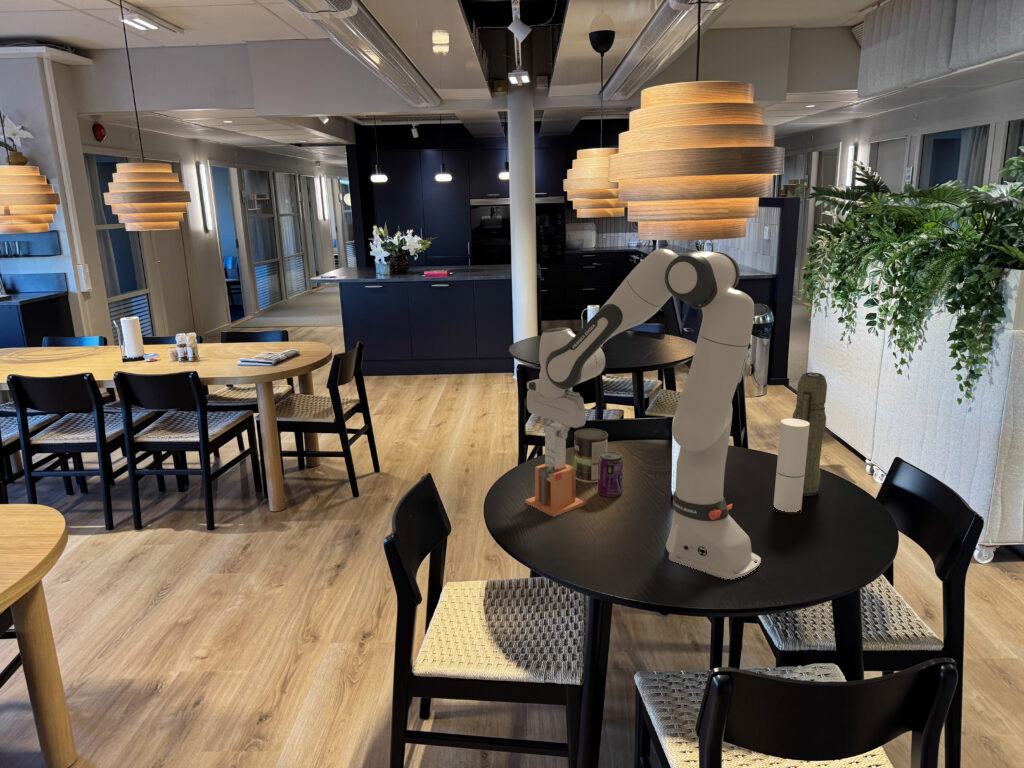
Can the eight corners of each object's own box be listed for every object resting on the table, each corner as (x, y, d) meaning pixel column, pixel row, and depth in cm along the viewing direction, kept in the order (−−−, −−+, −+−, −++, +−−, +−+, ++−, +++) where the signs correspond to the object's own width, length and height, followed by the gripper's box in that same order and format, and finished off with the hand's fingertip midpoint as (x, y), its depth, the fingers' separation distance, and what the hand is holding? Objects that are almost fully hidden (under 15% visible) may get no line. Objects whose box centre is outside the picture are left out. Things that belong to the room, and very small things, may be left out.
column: (565, 480, 198) (566, 425, 194) (553, 484, 195) (553, 429, 191) (555, 476, 201) (555, 422, 197) (543, 480, 198) (543, 425, 194)
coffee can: (574, 483, 215) (574, 438, 211) (572, 470, 225) (573, 428, 221) (608, 483, 214) (609, 439, 211) (605, 470, 224) (606, 428, 221)
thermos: (821, 486, 210) (833, 371, 201) (814, 501, 200) (827, 380, 191) (790, 481, 214) (800, 368, 206) (782, 494, 205) (792, 377, 196)
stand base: (585, 504, 199) (586, 467, 196) (553, 516, 192) (553, 478, 189) (556, 492, 208) (556, 456, 206) (525, 503, 201) (524, 465, 198)
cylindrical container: (801, 506, 197) (810, 420, 190) (800, 516, 190) (808, 427, 184) (774, 502, 200) (782, 417, 193) (772, 512, 193) (779, 424, 187)
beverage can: (614, 500, 202) (615, 461, 199) (593, 494, 206) (593, 455, 203) (626, 492, 207) (627, 453, 204) (605, 487, 212) (606, 449, 209)
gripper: (591, 392, 186) (590, 442, 189) (539, 378, 201) (539, 424, 205) (574, 396, 182) (573, 447, 185) (522, 381, 197) (523, 429, 201)
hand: (555, 435), depth 195 cm, fingers open, 5 cm apart
